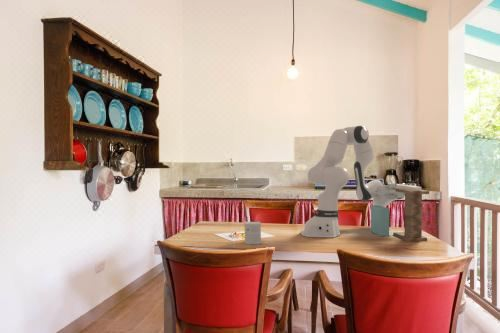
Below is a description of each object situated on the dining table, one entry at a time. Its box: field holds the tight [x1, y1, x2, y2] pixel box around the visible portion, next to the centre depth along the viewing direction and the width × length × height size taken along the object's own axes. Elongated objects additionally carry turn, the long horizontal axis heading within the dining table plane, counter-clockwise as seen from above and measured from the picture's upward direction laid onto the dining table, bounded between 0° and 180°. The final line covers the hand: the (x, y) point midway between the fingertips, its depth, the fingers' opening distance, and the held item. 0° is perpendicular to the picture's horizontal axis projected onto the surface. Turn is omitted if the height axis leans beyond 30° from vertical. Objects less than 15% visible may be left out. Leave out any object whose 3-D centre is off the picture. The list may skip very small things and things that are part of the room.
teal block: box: [370, 205, 390, 237], centre depth 189 cm, size 5×12×16 cm, turn 5°
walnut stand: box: [392, 189, 430, 242], centre depth 177 cm, size 11×16×26 cm
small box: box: [244, 221, 262, 245], centre depth 167 cm, size 8×6×10 cm
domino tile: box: [393, 183, 422, 191], centre depth 182 cm, size 4×22×2 cm, turn 5°
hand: (399, 184), depth 188 cm, fingers closed on domino tile, 4 cm apart
